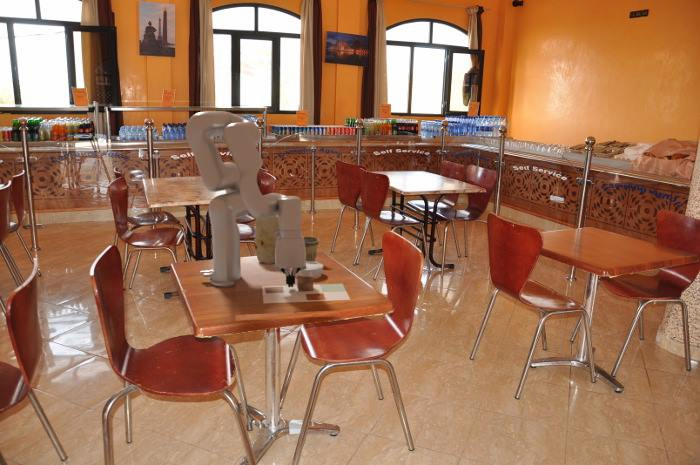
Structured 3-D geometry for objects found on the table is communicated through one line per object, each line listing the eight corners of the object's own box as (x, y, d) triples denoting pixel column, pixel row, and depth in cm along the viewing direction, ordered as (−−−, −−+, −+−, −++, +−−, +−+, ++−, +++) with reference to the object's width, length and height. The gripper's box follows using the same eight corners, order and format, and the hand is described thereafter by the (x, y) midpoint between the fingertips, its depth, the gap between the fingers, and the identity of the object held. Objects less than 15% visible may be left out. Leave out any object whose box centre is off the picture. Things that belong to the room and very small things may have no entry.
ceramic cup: (321, 266, 223) (321, 242, 220) (296, 268, 220) (296, 243, 218) (313, 257, 235) (313, 234, 233) (289, 258, 232) (289, 235, 230)
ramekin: (325, 275, 213) (325, 261, 212) (320, 284, 202) (320, 270, 201) (295, 273, 214) (295, 260, 213) (289, 283, 203) (289, 269, 202)
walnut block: (298, 291, 190) (298, 277, 189) (297, 286, 195) (297, 272, 194) (313, 291, 191) (313, 277, 190) (311, 286, 196) (311, 272, 195)
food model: (280, 260, 230) (280, 212, 225) (278, 265, 224) (278, 215, 219) (256, 259, 230) (255, 211, 225) (253, 264, 224) (252, 214, 219)
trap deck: (263, 307, 180) (263, 303, 179) (262, 290, 195) (262, 286, 194) (350, 304, 184) (350, 299, 184) (342, 287, 200) (342, 283, 199)
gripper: (267, 236, 183) (268, 290, 187) (313, 235, 185) (313, 288, 189) (267, 231, 190) (268, 283, 194) (311, 230, 192) (311, 281, 197)
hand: (290, 285), depth 192 cm, fingers closed
